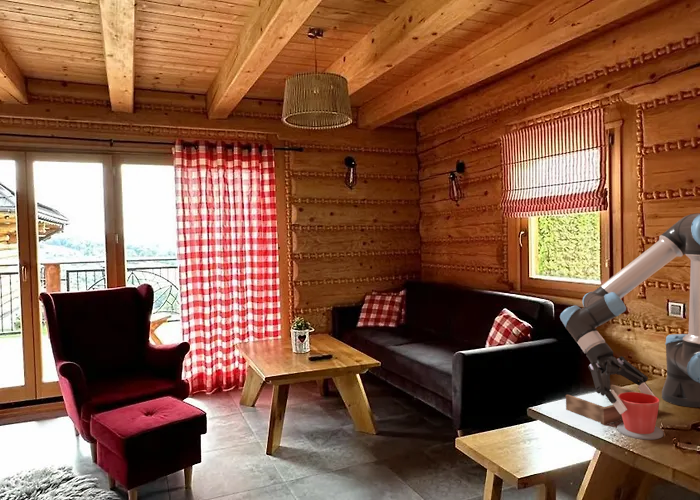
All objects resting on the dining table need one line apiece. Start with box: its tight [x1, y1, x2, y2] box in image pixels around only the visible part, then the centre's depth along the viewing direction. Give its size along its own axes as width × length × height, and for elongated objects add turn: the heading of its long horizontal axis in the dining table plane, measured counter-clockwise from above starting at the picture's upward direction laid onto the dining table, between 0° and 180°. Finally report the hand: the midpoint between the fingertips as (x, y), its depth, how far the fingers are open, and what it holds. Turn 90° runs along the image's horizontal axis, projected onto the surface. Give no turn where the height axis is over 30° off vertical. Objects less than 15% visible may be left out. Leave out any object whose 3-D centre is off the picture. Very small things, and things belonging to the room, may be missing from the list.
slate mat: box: [616, 422, 664, 441], centre depth 151 cm, size 12×12×1 cm
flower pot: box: [618, 391, 660, 434], centre depth 151 cm, size 11×11×10 cm
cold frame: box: [565, 384, 641, 426], centre depth 169 cm, size 16×24×5 cm, turn 113°
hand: (640, 407), depth 150 cm, fingers open, 13 cm apart
